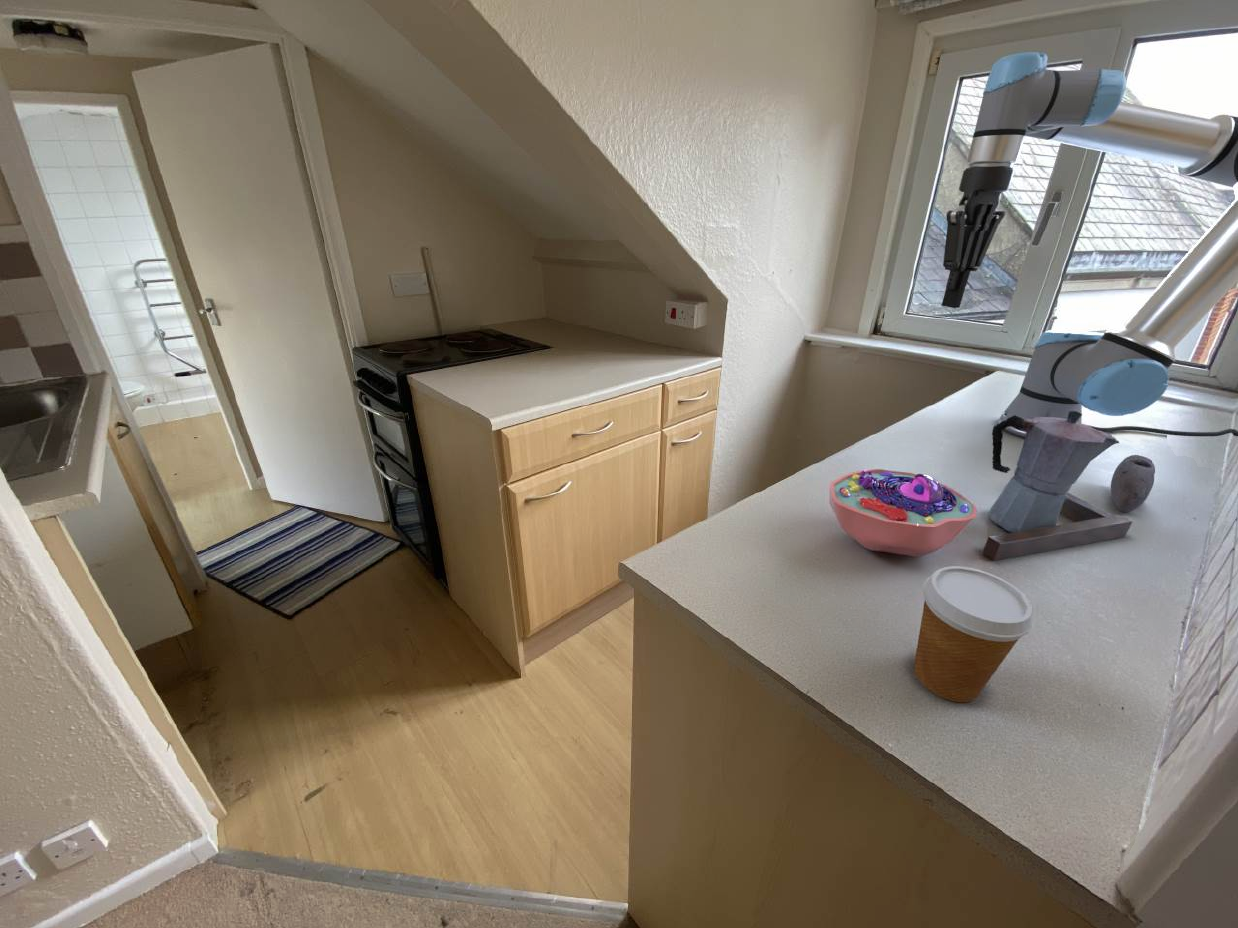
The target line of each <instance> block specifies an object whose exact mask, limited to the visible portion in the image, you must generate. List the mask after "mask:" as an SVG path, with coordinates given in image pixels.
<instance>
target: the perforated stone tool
mask: <svg viewBox="0 0 1238 928" xmlns="http://www.w3.org/2000/svg"><path fill="white" fill-rule="evenodd" d="M1155 474H1156V467H1155V465H1154V463H1153V460H1152V459H1150V458H1149V457H1146V456H1143V455H1139V454H1132V455H1129V456H1127V457H1125V458H1124V459H1123V460H1122V461H1121V462H1119V464H1117V467H1116V468H1115V470H1114V471H1113V474H1112V476H1111V480H1110V494H1111V499H1112V501H1113V504H1114V506H1115V508H1116V509H1117V510H1119V511H1121V512H1126V513H1127V512H1132V511H1134V510H1136V509H1138V508H1139V507H1141V506H1142V505H1143V504H1144V503H1145V502H1146V500H1147V499H1148V497H1149V495H1150V494H1151V492H1152V489H1153V486H1154V484H1155Z"/></svg>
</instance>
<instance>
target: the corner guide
mask: <svg viewBox="0 0 1238 928" xmlns="http://www.w3.org/2000/svg"><path fill="white" fill-rule="evenodd" d="M1066 496H1067V497H1068V499H1067V501H1065V502H1064V503H1063V505H1062V508H1061V511H1060V514H1061V515H1063V516H1065V517H1066V518H1069V519H1070V520H1072V521H1074V522H1067V523H1061V524H1056V525H1055V526H1049V527H1043V528H1037V529H1031V530H1025V531H1019V532H1013V533H1012V532H1008V533H1003V534H996V535H990V536H988V537H987V539H986V542H985V544H984V547H983V550H982V553H981V554H983V555H984V556H985V557H987V558H989V559H990V560H992V561H993V562H994V561H999V560H1000V561H1001V560H1006V559H1013V558H1017V557H1021V556H1028V555H1033V554H1040V553H1045V552H1049V551H1055V550H1060V549H1067V548H1072V547H1077V546H1083V545H1089V544H1094V543H1100V542H1104V541H1105V542H1106V541H1111V540H1116V539H1121V538H1125V537H1126V535H1127V533H1128V532H1129V529H1130V528H1131V526H1132V524H1133V520H1132V519H1130V518H1127V517H1125V516H1124V515H1121V514H1115V515H1114V514H1112V513H1110V512H1108V511H1106V510H1104V509H1102V508H1101V507H1098V506H1097V505H1094V504H1092V503H1090V502H1088V501H1086V500H1084V499H1083V498H1080V497H1077V496H1075V495H1073V494H1072V493H1069V492H1066Z"/></svg>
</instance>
